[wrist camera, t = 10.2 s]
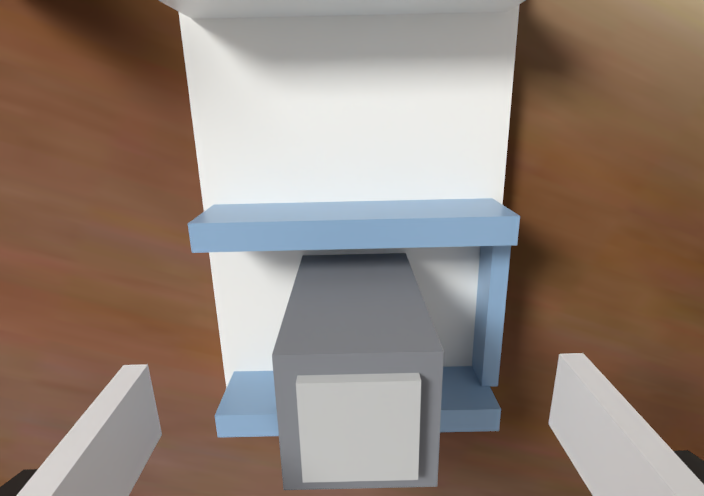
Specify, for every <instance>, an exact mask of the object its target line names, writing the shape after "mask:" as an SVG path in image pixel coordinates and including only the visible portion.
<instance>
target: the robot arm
mask: <svg viewBox="0 0 704 496" xmlns="http://www.w3.org/2000/svg"><path fill="white" fill-rule="evenodd" d="M549 426H550V427H551V429H552V430H553V432H554V434H555V435H556V437H557V439H558V440H559V442H560V443H561V445H562V447H563V448H564V450H565V452H566V453H567V455H568V456H569V458H570V460H571V461H572V463H573V465H574V466H575V468H576V469H577V471H578V473H579V474H580V476H581V478H582V479H583V481H584V482H585V484H586V486H587V487H588V489H589V491H590V492H591V494H592V495H593V496H704V461H703V460H702V459H700V458H699V457H697V456H696V455H694V454H693V453H691V452H690V451H688V450H687V451H673V450H672V449H671V448H670V447H669V446H668V445H667V444H666V443H665V442H664V441H663V440H662V438H661V437H660V436H659V435H658V434H657V433H656V432H655V431H654V430H653V429H652V428H651V427H650V425H649V424H648V423H647V422H646V421H645V420H644V419H643V418H642V417H641V416H640V415H639V413H638V412H637V411H636V410H635V409H634V408H633V407H632V406H631V405H630V404H629V403H628V401H627V400H626V399H625V398H624V397H623V396H622V395H621V394H620V393H619V392H618V391H617V389H616V388H615V387H614V386H613V385H612V384H611V383H610V382H609V381H608V380H607V379H606V378H605V376H604V375H603V374H602V373H601V372H600V371H599V370H598V369H597V368H596V367H595V366H594V364H593V363H592V362H591V361H590V360H589V359H588V358H587V357H586V356H585V355H584V354H583V353H574V354H559V359H558V366H557V372H556V379H555V385H554V392H553V398H552V405H551V411H550V418H549ZM161 435H162V433H161V428H160V423H159V418H158V413H157V408H156V403H155V398H154V393H153V388H152V383H151V378H150V373H149V368H148V364H147V365H123V366H122V368H121V369H120V370H119V371H118V373H117V374H116V375H115V376H114V377H113V379H112V380H111V381H110V382H109V383H108V385H107V386H106V387H105V388H104V390H103V391H102V392H101V393H100V394H99V396H98V397H97V398H96V399H95V401H94V402H93V403H92V404H91V405H90V407H89V408H88V409H87V410H86V411H85V413H84V414H83V415H82V416H81V418H80V419H79V420H78V421H77V422H76V424H75V425H74V426H73V427H72V429H71V430H70V431H69V432H68V433H67V435H66V436H65V437H64V438H63V439H62V441H61V442H60V443H59V444H58V446H57V447H56V448H55V449H54V450H53V452H52V453H51V454H50V455H49V457H48V458H47V459H46V460H45V461H44V463H43V464H42V465H41V466H40V467H39V469H34V470H23V471H21V472H20V473H19V474H17V475H16V476H15V477H13V478H12V479H11V480H9V481H8V482H7V483H5V484H4V485H3V486H1V487H0V496H129V494H130V492H131V490H132V489H133V487H134V485H135V483H136V481H137V479H138V478H139V476H140V474H141V472H142V470H143V468H144V466H145V465H146V463H147V461H148V459H149V457H150V455H151V453H152V452H153V450H154V448H155V446H156V444H157V442H158V441H159V439H160V437H161Z"/></svg>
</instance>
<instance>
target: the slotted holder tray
mask: <svg viewBox="0 0 704 496" xmlns="http://www.w3.org/2000/svg"><path fill="white" fill-rule="evenodd" d="M159 1H160V2H162V3H164V4H166V5H168V6H169V7H171V8H173V9H175V10H177V11H178V12H179V19H180V27H181V35H182V43H183V51H184V59H185V66H186V74H187V82H188V90H189V98H190V106H191V114H192V121H193V129H194V137H195V145H196V153H197V161H198V168H199V176H200V184H201V192H202V200H203V208H204V212H203V213H202V214H200V215H199V216H197V217H196V218H195V219H193V220H192V221H191V222H189V223H188V228H189V236H190V243H191V250H192V253H200V252H209V255H210V263H211V271H212V278H213V286H214V294H215V302H216V310H217V318H218V325H219V333H220V341H221V349H222V357H223V365H224V373H225V380H226V391H225V393H224V395H223V398H222V400H221V402H220V405H219V407H218V409H217V412H216V414H215V421H216V428H217V435H218V437H255V436H279V431H278V420H277V409H276V397H275V386H274V375H273V363H272V353H273V350H274V347H275V343H276V340H277V337H278V334H279V330H280V327H281V324H282V321H283V317H284V314H285V311H286V308H287V304H288V301H289V298H290V294H291V291H292V288H293V285H294V281H295V278H296V275H297V272H298V268H299V265H300V262H301V259H302V255H339V254H383V253H406V255H407V258H408V260H409V263H410V265H411V268H412V271H413V273H414V276H415V278H416V281H417V284H418V286H419V289H420V291H421V294H422V296H423V299H424V302H425V304H426V307H427V309H428V312H429V315H430V317H431V320H432V322H433V325H434V327H435V330H436V333H437V335H438V338H439V340H440V343H441V345H442V348H443V351H444V358H443V378H442V399H441V420H440V432H473V431H499V425H500V415H501V408H500V406H499V404H498V402H497V400H496V398H495V396H494V394H493V392H492V390H491V388H490V386H498V379H499V369H500V358H501V347H502V337H503V326H504V315H505V305H506V294H507V283H508V273H509V262H510V251H511V245H517V242H518V232H519V222H520V216H519V215H518V214H516V213H515V212H513V211H511V210H510V209H508V208H507V207H505V206H504V205H502V204H503V192H504V181H505V169H506V157H507V145H508V134H509V122H510V110H511V98H512V86H513V75H514V63H515V51H516V39H517V28H518V16H519V4H521V3H522V2H524V1H526V0H159Z"/></svg>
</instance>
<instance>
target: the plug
mask: <svg viewBox="0 0 704 496" xmlns="http://www.w3.org/2000/svg"><path fill="white" fill-rule="evenodd" d="M443 358H444V351H443V348H442V345H441V343H440V340H439V338H438V335H437V333H436V330H435V327H434V325H433V322H432V320H431V317H430V315H429V312H428V309H427V307H426V304H425V302H424V299H423V296H422V294H421V291H420V289H419V286H418V284H417V281H416V278H415V276H414V273H413V271H412V268H411V265H410V263H409V260H408V258H407V255H406V253H383V254H339V255H302V259H301V262H300V265H299V268H298V272H297V275H296V278H295V281H294V285H293V288H292V291H291V294H290V298H289V301H288V304H287V308H286V311H285V314H284V317H283V321H282V324H281V327H280V330H279V334H278V337H277V340H276V343H275V347H274V350H273V353H272V363H273V375H274V386H275V397H276V409H277V420H278V431H279V443H280V454H281V465H282V477H283V488H284V490H306V489H350V488H393V487H437V482H438V461H439V440H440V420H441V399H442V378H443Z"/></svg>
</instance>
